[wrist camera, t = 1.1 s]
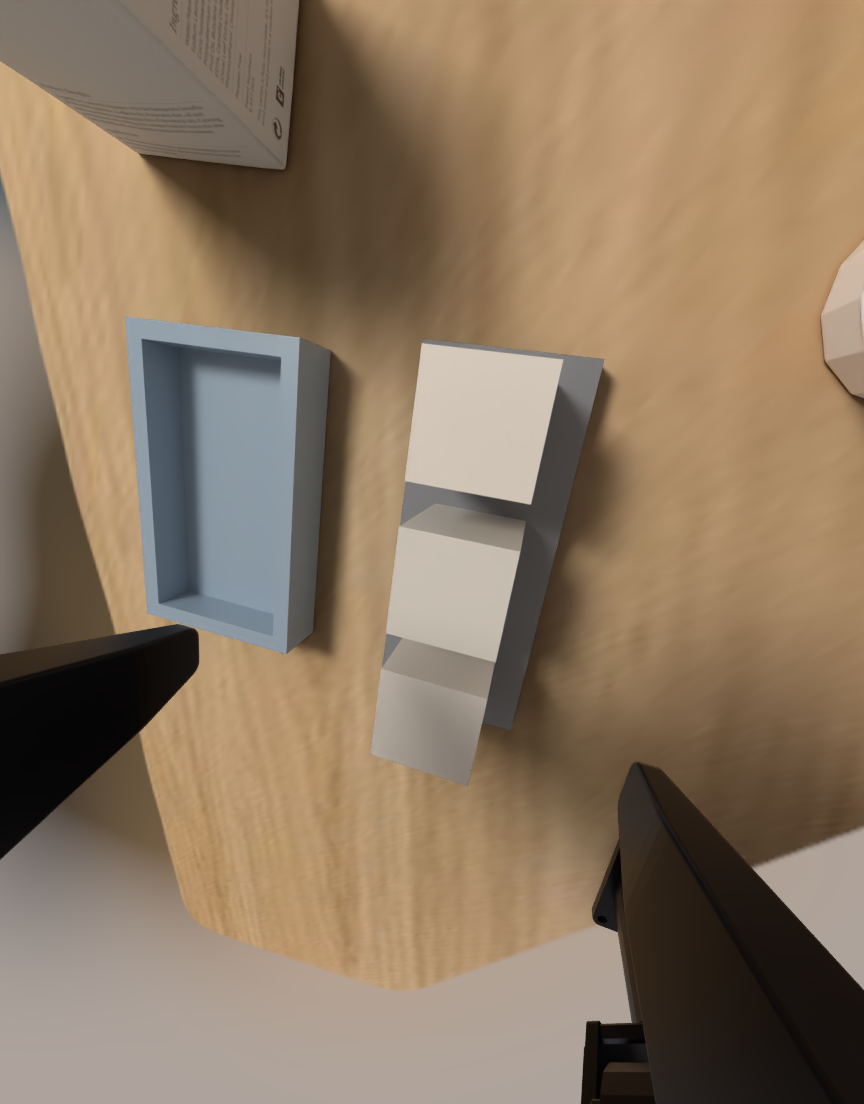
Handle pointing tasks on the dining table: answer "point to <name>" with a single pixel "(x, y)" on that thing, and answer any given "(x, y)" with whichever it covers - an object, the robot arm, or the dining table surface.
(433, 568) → the stone
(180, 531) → the blue bin
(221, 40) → the skincare box
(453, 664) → the stone
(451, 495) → the slate board
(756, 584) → the dining table surface
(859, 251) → the white cup
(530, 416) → the stone
